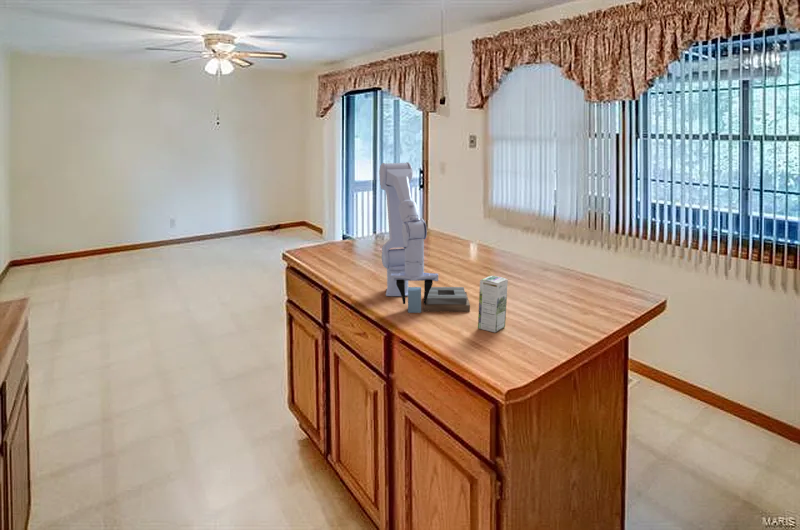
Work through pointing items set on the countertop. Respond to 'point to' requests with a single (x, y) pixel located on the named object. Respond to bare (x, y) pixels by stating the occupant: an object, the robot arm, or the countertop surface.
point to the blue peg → (414, 299)
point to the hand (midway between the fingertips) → (414, 303)
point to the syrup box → (492, 303)
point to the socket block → (447, 300)
